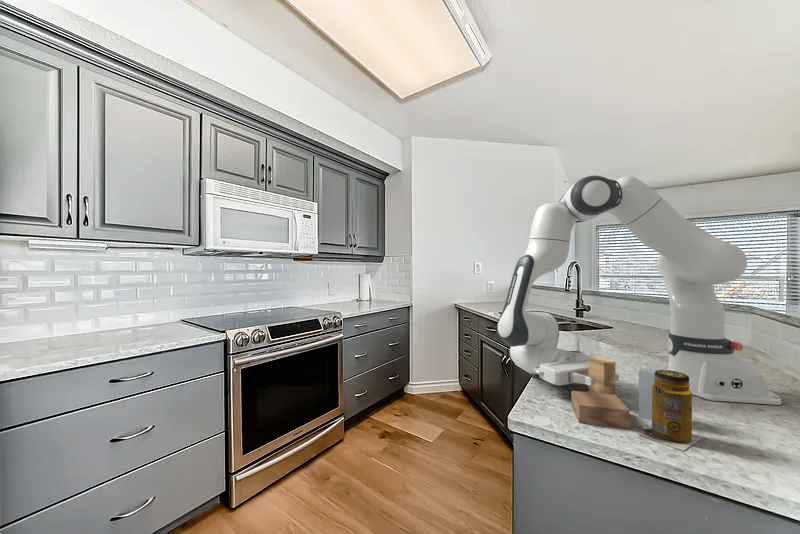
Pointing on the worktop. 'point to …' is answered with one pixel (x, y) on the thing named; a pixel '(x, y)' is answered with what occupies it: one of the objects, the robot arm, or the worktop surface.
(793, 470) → the worktop surface
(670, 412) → the condiment
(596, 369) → the oak pillar
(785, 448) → the worktop surface
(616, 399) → the walnut plinth
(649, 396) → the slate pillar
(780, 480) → the worktop surface
